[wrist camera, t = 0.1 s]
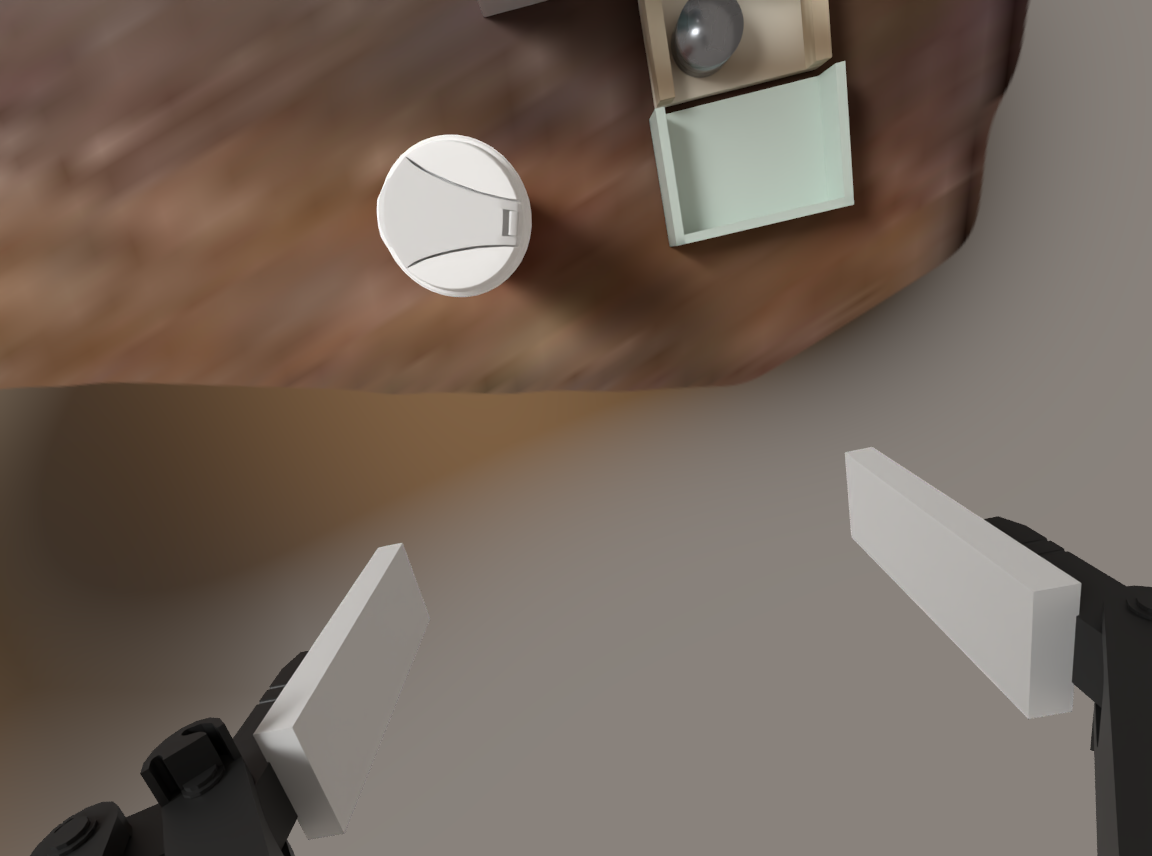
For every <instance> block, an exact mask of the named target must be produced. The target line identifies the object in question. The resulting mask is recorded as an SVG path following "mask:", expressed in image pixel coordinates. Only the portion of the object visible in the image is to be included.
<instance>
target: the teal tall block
mask: <svg viewBox="0 0 1152 856" xmlns="http://www.w3.org/2000/svg"><path fill="white" fill-rule="evenodd" d="M477 1H478V3H479V6H480V8H481V11H482V13H483V16H484V17H488V16H492V15H495V14H499V13H503V12H506V11H510V10H514V9H518V8H521V7H525V6H529V5H532V4H536V3H540V2H544V1H547V0H477Z"/></svg>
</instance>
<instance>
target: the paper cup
mask: <svg viewBox="0 0 1152 856" xmlns="http://www.w3.org/2000/svg"><path fill="white" fill-rule="evenodd" d="M377 219H378V227H379V231H380V235H381V238H382V240H383V241H384V243H385V244H386V246H387V248H388V249H389V251H390V253H391V254H392V256H393V258H394V260H395V261H396V262H397V264H398V265H399V266H400V267H401V269H402V270H403V271H404V272H405V273H406V274H407V275H408V276H409V277H410V278H411V279H413V280H414V281H415V282H417V283H418V284H420V285H421V286H423V287H425V288H427V289H429V290H431V291H433V292H436V293H439V294H442V295H446V296H452V297H469V296H475V295H479V294H482V293H485V292H488V291H490V290H492V289H494V288H496V287H498V286H499V285H500V284H502V283H503V282H504V281H506V280H507V279H508V278H509V277H510V276H511V275H512V274H513V273H514V272H515V270H516V269H517V267H518V266H519V264H520V263H521V261H522V259H523V257H524V255H525V253H526V251H527V248H528V244H529V241H530V235H531V228H532V215H531V208H530V202H529V198H528V195H527V192H526V189H525V187H524V184H523V182H522V180H521V178H520V176H519V175H518V173H517V172H516V171H515V169H514V168H513V166H512V165H511V164H510V163H509V162H508V161H507V160H506V158H505V157H504V156H503V155H501V154H500V153H499V152H498V151H496V150H495V149H494V148H492V147H490V146H489V145H487V144H485V143H483V142H482V141H479V140H476V139H473V138H471V137H466V136H461V135H441V136H435V137H431V138H428V139H426V140H423V141H420V142H419V143H417V144H415V145H414V146H412V147H410V148H409V149H408V150H407V151H406V152H404V153H403V154H402V155H401V156H400V157H399V159H398V160H397V161H396V162H395V163H394V165H393V166H392V168H391V170H390V172H389V173H388V175H387V177H386V180H385V183H384V185H383V188H382V190H381V193H380V195H379V197H378V199H377Z"/></svg>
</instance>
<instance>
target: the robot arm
mask: <svg viewBox="0 0 1152 856" xmlns="http://www.w3.org/2000/svg"><path fill="white" fill-rule="evenodd" d="M845 460H846V473H847V487H848V499H849V513H850V526H851V537H852V538H853V539H854V540H855V541H856V542H857V543H858V544H859V545H860V546H861V547H862V548H863V549H864V550H865V551H866V553H867V554H869V556H870V557H871V558H872V559H873V560H874V561H875V562H876V563H877V564H878V565H880V567H881V568H882V569H883V570H884V571H885V572H886V573H887V574H888V575H889V576H890V577H891V578H892V579H893V580H894V581H895V582H896V583H897V584H898V585H899V586H900V587H901V588H902V590H903V591H904V592H905V593H906V594H907V595H908V596H909V597H910V598H911V599H912V600H913V601H914V602H915V603H916V604H917V605H918V606H919V607H920V608H921V609H922V610H923V611H924V612H925V613H926V614H927V615H928V616H929V617H930V618H931V619H932V620H933V621H934V622H935V623H936V624H937V625H938V626H939V628H940V629H942V631H944V633H945V634H946V635H947V636H948V637H949V638H950V639H951V640H952V641H953V642H954V643H955V644H956V645H957V646H958V647H959V648H960V649H961V650H962V651H963V652H964V653H965V654H966V655H967V656H968V657H969V658H970V659H971V660H972V661H973V662H974V663H975V664H976V666H977V667H978V668H979V669H980V670H981V671H982V672H983V673H984V674H985V675H986V676H987V677H988V678H989V679H990V680H991V681H992V682H993V683H994V684H995V685H996V686H997V687H998V688H999V689H1000V690H1001V691H1002V692H1003V693H1004V694H1005V695H1006V696H1007V697H1008V698H1009V699H1010V700H1011V701H1012V703H1014V705H1015V706H1016V707H1017V708H1018V709H1019V710H1020V711H1021V712H1022V713H1023V714H1024V715H1025V716H1026V717H1027V718H1028V719H1031V718H1036V717H1043V716H1049V715H1055V714H1061V713H1067V712H1072V707H1073V693H1074V685H1076V686H1077V687H1078V688H1079V689H1080V690H1081V691H1083V692H1084V693H1085V694H1086V695H1087V696H1088V697H1089V698H1091V699H1092V700H1093V701H1094V702H1095V703H1094V714H1093V726H1092V737H1091V749H1090V750H1092V751H1094V757H1095V789H1096V819H1097V820H1096V821H1097V852H1098V856H1152V587H1144V586H1127V587H1126V586H1125V585H1123V584H1121V583H1120V582H1118V581H1116V580H1115V579H1113V578H1111V577H1110V576H1108V575H1107V574H1105V573H1103V572H1101V571H1100V570H1098V569H1097V568H1095V567H1093V566H1092V565H1090V564H1088V563H1087V562H1085V561H1083V560H1082V559H1080V558H1078V557H1077V556H1075V555H1073V554H1072V553H1070V552H1065V551H1064V549H1063V548H1062V547H1060V546H1059V545H1057V544H1055V543H1054V542H1052V541H1047V539H1046V538H1045V537H1044V536H1042V535H1040V534H1039V533H1037V532H1035V531H1034V530H1032V529H1030V528H1029V527H1027V526H1025V525H1022V524H1019V523H1016V522H1013V521H1010V520H1007V519H1004V518H1001V517H993V518H988V519H982V518H981V517H979V516H978V515H976V514H974V513H973V512H971V511H970V510H968V509H967V508H965V507H963V506H962V505H960V504H959V503H958V502H956V501H954V500H953V499H951V498H950V497H948V496H947V495H945V494H944V493H942V492H941V491H939V490H938V489H936V488H935V487H933V486H931V485H930V484H928V483H927V482H925V481H924V480H922V479H921V478H919V477H918V476H916V475H915V474H913V473H911V472H910V471H908V470H907V469H905V468H904V467H902V466H901V465H899V464H897V463H896V462H895V461H893V460H892V459H890V458H889V457H887V456H885V455H884V454H882V453H881V452H879V451H878V450H876V449H874V448H873V447H869V448H865V449H859V450H855V451H850V452H845ZM429 620H430V617H429V614H428V611H427V608H426V606H425V603H424V600H423V598H422V595H421V592H420V589H419V586H418V584H417V581H416V578H415V576H414V573H413V570H412V567H411V564H410V562H409V559H408V556H407V553H406V551H405V548H404V545H403V543H399V544H394V545H389V546H384V547H379V548H378V549H377V550H376V552H375V553H374V555H373V556H372V558H371V559H370V561H369V562H368V564H367V565H366V567H365V568H364V570H363V571H362V573H361V574H360V576H359V577H358V579H357V580H356V582H355V583H354V585H353V586H352V588H351V589H350V591H349V592H348V594H347V595H346V597H345V598H344V599H343V601H342V603H341V604H340V605H339V607H338V609H337V610H336V612H335V613H334V614H333V616H332V617H331V619H330V620H329V622H328V623H327V625H326V626H325V628H324V629H323V631H322V632H321V634H320V635H319V637H318V638H317V640H316V641H315V643H314V644H313V646H312V647H311V649H310V650H309V651H305V652H301V653H300V654H298V655H297V656H296V657H295V658H294V659H293V660H292V661H290V662H289V663H288V664H287V665H286V666H285V667H284V668H283V669H282V670H281V671H280V673H279V674H278V675H277V677H276V678H275V680H274V681H273V683H272V684H271V686H270V690H267V691H266V692H265V694H264V695H263V697H262V698H261V700H260V704H259V705H256V707H255V708H254V710H253V711H252V712H251V714H250V715H249V717H248V718H247V719H246V721H245V722H244V724H243V725H242V726H241V728H240V729H239V731H238V732H237V734H236V735H235V736H234V738H233V739H232V737H231V735H230V734H229V731H228V730H227V728H226V726H225V724H224V723H223V722H222V721H221V719H220V718H206V719H203V720H199V721H196V722H194V723H192V724H190V725H188V726H185V727H183V728H181V729H180V730H178V731H177V732H175V733H174V734H172V735H171V736H170V737H168V738H167V739H165V740H164V741H163V742H162V743H161V744H160V745H159V746H158V747H157V748H156V749H154V750H153V752H152V753H151V754H150V756H149V757H148V758H147V760H146V761H145V762H144V764H143V767H142V770H141V773H140V774H141V775H142V777H143V779H144V780H145V782H146V783H147V785H148V787H149V788H150V790H151V791H152V793H153V794H154V796H155V798H156V799H157V801H158V804H156V805H154V806H152V807H149V808H147V809H145V810H142V811H140V812H138V813H136V814H133V815H131V816H128V817H125V816H124V814H123V813H122V811H121V810H120V808H119V806H117V805H116V804H115V803H114V802H101V803H98V804H95V805H93V806H90V807H88V808H85V809H84V810H82V811H80V812H78V813H77V814H75V815H72V816H71V817H69V818H68V819H66V820H65V821H63V823H62V824H59V825H58V826H57V827H56V828H55V829H53V830H52V831H51V832H50V834H49V835H48V836H46V838H44V839H43V841H42V842H40V843H39V844H38V846H37V847H36V848H35V849H34V851H33V852H32V854H31V855H30V856H295V855H294V852H293V850H292V848H291V846H290V844H289V843H288V841H287V838H288V836H289V834H290V832H291V830H292V827H293V826H294V824H295V822H296V820H298V822H299V824H300V826H301V827H302V829H303V831H304V833H305V835H306V837H307V839H308V840H310V839H316V838H322V837H328V836H334V835H339V834H344V833H345V831H346V828H347V826H348V824H349V821H350V818H351V816H352V814H353V811H354V809H355V806H356V804H357V801H358V799H359V796H360V793H361V791H362V789H363V786H364V784H365V781H366V778H367V776H368V774H369V771H370V768H371V766H372V763H373V761H374V758H375V756H376V753H377V751H378V748H379V746H380V743H381V741H382V738H383V736H384V733H385V731H386V728H387V726H388V723H389V720H390V718H391V716H392V713H393V711H394V708H395V706H396V703H397V701H398V698H399V696H400V693H401V690H402V688H403V685H404V683H405V680H406V678H407V676H408V673H409V671H410V668H411V666H412V663H413V660H414V658H415V655H416V653H417V650H418V648H419V645H420V643H421V640H422V637H423V635H424V633H425V630H426V628H427V625H428V623H429Z"/></svg>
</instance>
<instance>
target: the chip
mask: <svg viewBox="0 0 1152 856" xmlns="http://www.w3.org/2000/svg"><path fill="white" fill-rule="evenodd" d="M743 28H744V20H743V14H742V10H741V8H740V5H739V4H738V2H737V0H688V1H687V3H686V4H685V6H684V7H683V9H682V11H681V14H680V16H679V18H678V20H677V23H676V25H675V27H674V30H673V33H672V37H671V52H672V56H673V59H674V61H675V63H676V65H677V66H678V68H679V69H680V70H681V71H682V72H683V73H685V74H686V75H689V76H691V77H695V78H704V77H708V76H711V75H713V74H714V73H716V72H717V71H718V70H720V69H721V68H722V67H723V65H724V64H725V63H726V62H727V60H728V59H729V58H730V57H731V55H732V54H733V53H734V51H735V50H736V49H737V47H738V45H739V43H740V41H741V38H742V34H743Z"/></svg>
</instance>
